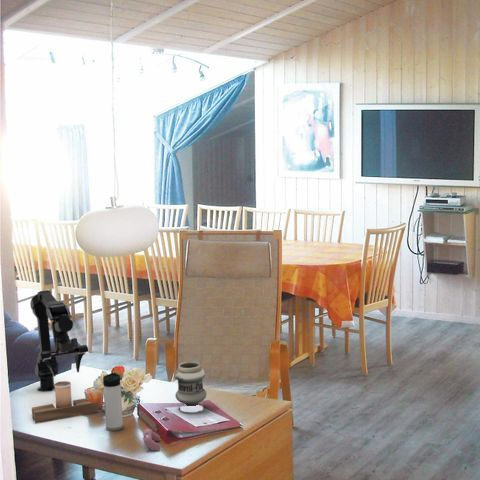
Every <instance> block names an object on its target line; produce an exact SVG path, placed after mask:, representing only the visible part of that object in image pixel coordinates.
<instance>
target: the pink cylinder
mask: <svg viewBox="0 0 480 480" xmlns="http://www.w3.org/2000/svg"><path fill="white" fill-rule="evenodd" d="M71 385H72V383H71V382H70V381H67V380H66V381H65V380H64V381H58V382H56V383H55V382H54V387H55V388H54V395H55V408H62V407H68V406H73V400H72V388H71Z"/></svg>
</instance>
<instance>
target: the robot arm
mask: <svg viewBox="0 0 480 480" xmlns="http://www.w3.org/2000/svg"><path fill="white" fill-rule="evenodd" d="M30 309H31V310H32V313H33V315H34V316H35V318H36V322H37V332H38V333H37V334H38V343H39V351H40V352H38V354H37V358H36V364H35V368H34V372H35V373H34V374H35V376H36V377H37V378H39V382H40V383H39V384H40V386H39V387H38V388H37V389H36V390H37V391H47V392H48V391H49V392H51V391H53V390H55V387H54V384H55V380H54V378H55V377H56V375H58V374H59V363H58V360H57V358H56V357H58V356H64V355H71V354H75V355H74V358H75V359H74V360H75V369H76V373H78V374H79V373H80V368H81V363H82V359H83V356H84V355H86V353H87V352H89V346H88V345H87V344H83V345H79V344H78V338H77V337H73V338H71V339H70V336H69V332H70V331H71V330H72V329H73V327H74V322H73V320H72V319H71V315H72V313H71V312H70V309H69V308H68V305H66V304H65V302H63V301H60V300H57V299H56V298H55V296H54V295H53V294H52V292H51V290H48V289H47V290H39V291H37V293H36V294H35V295H34V296H32V297H31V300H30ZM49 321H50V322H51V321H52V322H51V329H52V331H51V332H52V338H53V339H52V340H53V344H54V351H52V346H51V336H50V334H51V333H50V325H49V324H50V323H49Z"/></svg>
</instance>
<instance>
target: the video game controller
mask: <svg viewBox="0 0 480 480" xmlns="http://www.w3.org/2000/svg"><path fill="white" fill-rule="evenodd" d="M142 435H143V437H142V441H143V443H144V445H145V446H146V447H147V448H148V449H150V450H153V451H157V452H159V451H161V446H160V444H158V442H160V441H161V436H160V435H159V434H157V433H156V432H155V431H153V430H152V429H151V428H146V429H144V430H143V431H142Z"/></svg>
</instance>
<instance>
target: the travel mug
mask: <svg viewBox="0 0 480 480" xmlns="http://www.w3.org/2000/svg"><path fill="white" fill-rule="evenodd" d="M102 381H103V382H102V383H103V401H104V402H103V403H104V416H105V418H104V419H105V420H104V421H105V429H106V430H107V431H109V432H110V431H112V432H116V431H120V430H122V429H123V427H124V421H123V420H124V417H123V403H122V386H121V375H120V374H118V373H116V372H110V373H108V374H105V375H104V376H103V377H102Z"/></svg>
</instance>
